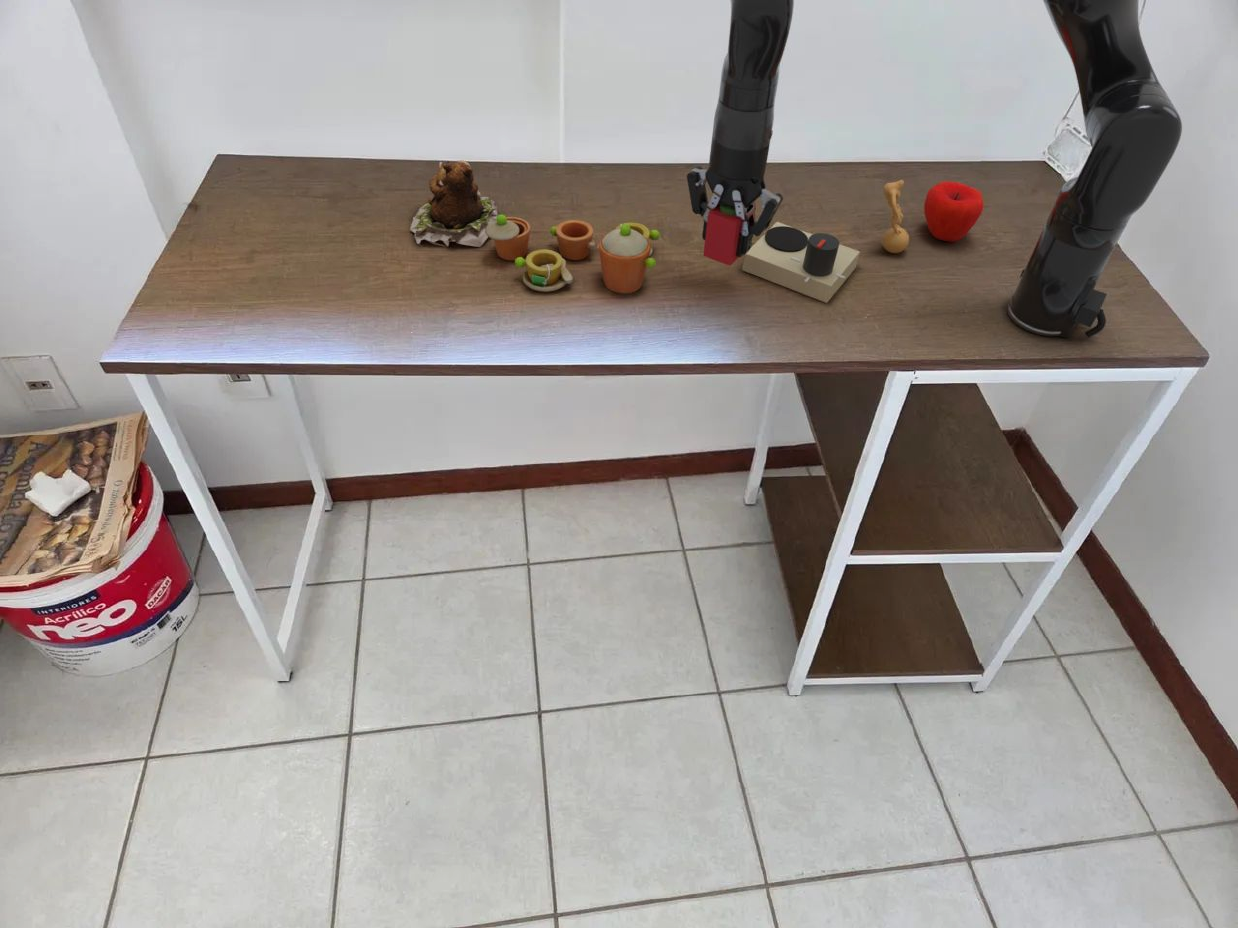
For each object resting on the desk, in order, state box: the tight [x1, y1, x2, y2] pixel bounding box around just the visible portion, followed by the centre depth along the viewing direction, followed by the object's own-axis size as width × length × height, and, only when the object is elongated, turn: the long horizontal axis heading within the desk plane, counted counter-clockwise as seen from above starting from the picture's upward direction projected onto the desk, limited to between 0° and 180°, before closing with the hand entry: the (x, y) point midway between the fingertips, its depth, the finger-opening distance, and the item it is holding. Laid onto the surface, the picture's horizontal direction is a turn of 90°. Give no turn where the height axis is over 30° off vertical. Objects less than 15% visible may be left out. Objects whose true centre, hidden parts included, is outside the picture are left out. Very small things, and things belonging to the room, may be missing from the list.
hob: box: [741, 221, 861, 304], centre depth 132 cm, size 15×12×3 cm
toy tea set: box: [485, 214, 660, 294], centre depth 128 cm, size 26×16×10 cm, turn 93°
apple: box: [923, 180, 985, 243], centre depth 139 cm, size 9×9×8 cm
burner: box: [764, 226, 808, 252], centre depth 133 cm, size 7×7×1 cm
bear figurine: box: [409, 159, 499, 248], centre depth 134 cm, size 14×15×12 cm
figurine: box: [881, 179, 910, 254], centre depth 133 cm, size 8×6×12 cm
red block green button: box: [702, 205, 741, 267], centre depth 123 cm, size 4×5×8 cm
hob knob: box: [803, 232, 840, 276], centre depth 127 cm, size 4×4×5 cm
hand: (725, 248), depth 125 cm, fingers closed on red block green button, 4 cm apart
